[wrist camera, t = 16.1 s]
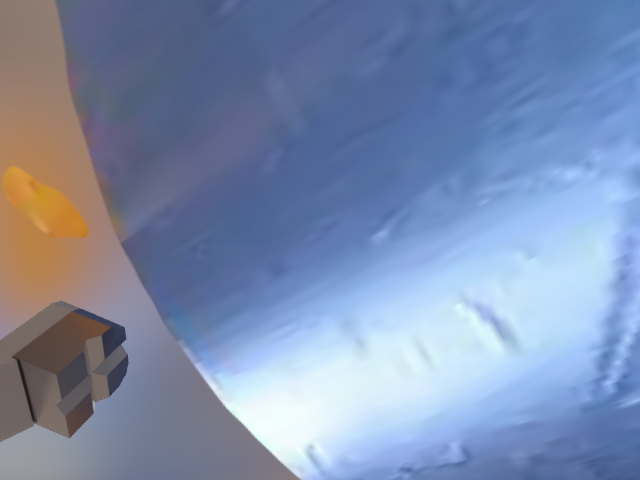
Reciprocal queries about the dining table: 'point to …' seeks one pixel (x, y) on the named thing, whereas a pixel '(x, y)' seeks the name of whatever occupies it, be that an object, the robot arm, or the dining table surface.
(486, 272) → the dining table surface
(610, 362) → the dining table surface
